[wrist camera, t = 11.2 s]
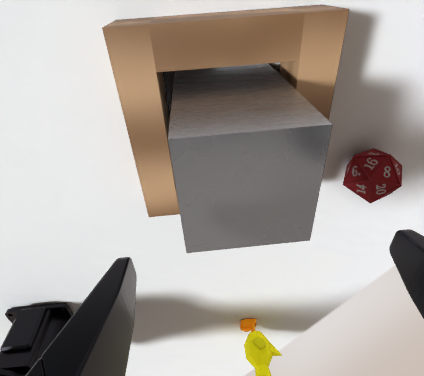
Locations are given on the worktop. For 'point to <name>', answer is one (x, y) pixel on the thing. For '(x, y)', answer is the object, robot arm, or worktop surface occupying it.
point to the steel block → (244, 157)
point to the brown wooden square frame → (211, 58)
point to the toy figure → (258, 348)
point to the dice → (373, 175)
